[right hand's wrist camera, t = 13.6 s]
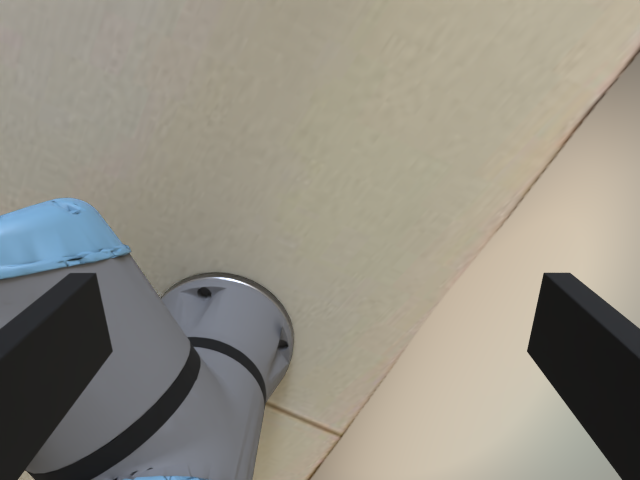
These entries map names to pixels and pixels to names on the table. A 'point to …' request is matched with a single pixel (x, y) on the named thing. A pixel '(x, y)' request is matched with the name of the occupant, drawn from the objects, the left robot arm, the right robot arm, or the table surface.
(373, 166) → the table surface
